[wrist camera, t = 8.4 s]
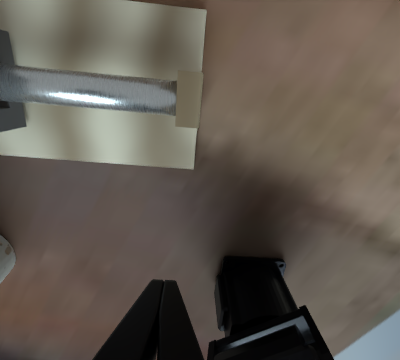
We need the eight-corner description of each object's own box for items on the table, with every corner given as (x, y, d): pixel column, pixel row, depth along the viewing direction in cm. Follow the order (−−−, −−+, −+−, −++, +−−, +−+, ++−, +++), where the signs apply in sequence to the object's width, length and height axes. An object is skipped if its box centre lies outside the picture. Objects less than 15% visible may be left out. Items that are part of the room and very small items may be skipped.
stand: (205, 13, 15) (211, -20, 11) (193, 166, 19) (193, 190, 15) (-75, -19, 14) (-205, -72, 10) (-27, 149, 18) (-102, 169, 14)
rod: (201, 80, 14) (203, 78, 12) (198, 119, 15) (199, 123, 13) (-102, 50, 13) (-161, 42, 11) (-86, 94, 14) (-139, 94, 12)
